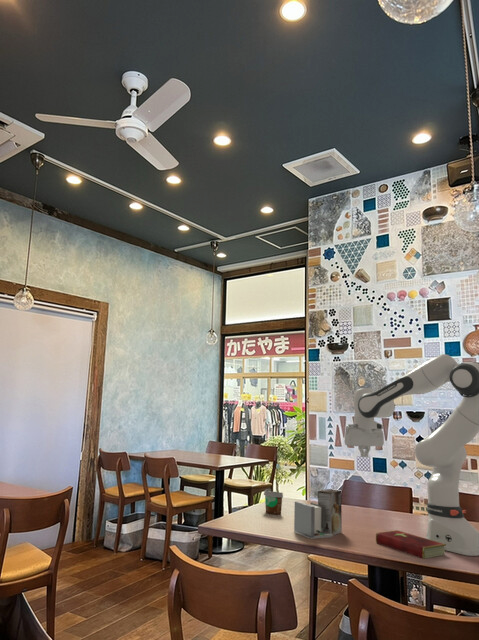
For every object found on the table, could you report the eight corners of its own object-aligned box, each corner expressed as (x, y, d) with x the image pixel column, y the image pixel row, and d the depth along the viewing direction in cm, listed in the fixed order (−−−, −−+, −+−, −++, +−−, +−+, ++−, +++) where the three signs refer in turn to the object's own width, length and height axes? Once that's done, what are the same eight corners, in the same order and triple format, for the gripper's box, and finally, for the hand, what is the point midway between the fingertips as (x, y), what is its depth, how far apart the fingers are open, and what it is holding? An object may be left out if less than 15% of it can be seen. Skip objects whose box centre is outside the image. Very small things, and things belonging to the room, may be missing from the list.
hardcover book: (423, 560, 152) (423, 546, 153) (375, 544, 170) (375, 532, 171) (446, 556, 158) (445, 543, 159) (397, 541, 176) (397, 529, 176)
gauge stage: (326, 532, 175) (326, 506, 177) (315, 533, 173) (316, 507, 175) (312, 527, 183) (312, 502, 185) (302, 528, 181) (302, 503, 183)
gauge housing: (333, 536, 175) (333, 505, 178) (311, 539, 171) (311, 506, 173) (315, 530, 185) (315, 500, 187) (294, 532, 180) (294, 501, 183)
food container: (258, 510, 219) (259, 488, 221) (269, 510, 222) (270, 488, 224) (271, 516, 208) (271, 493, 210) (282, 515, 211) (283, 492, 213)
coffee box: (327, 529, 187) (327, 488, 191) (342, 532, 183) (342, 490, 187) (317, 533, 180) (317, 490, 184) (331, 536, 176) (332, 492, 180)
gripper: (351, 424, 194) (351, 457, 192) (385, 425, 204) (386, 457, 201) (341, 423, 200) (341, 456, 197) (375, 425, 209) (376, 456, 206)
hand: (364, 456), depth 199 cm, fingers closed
